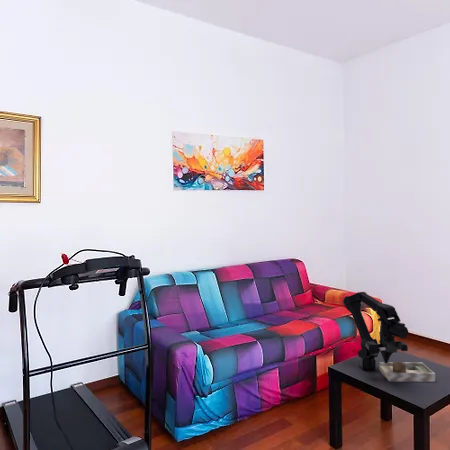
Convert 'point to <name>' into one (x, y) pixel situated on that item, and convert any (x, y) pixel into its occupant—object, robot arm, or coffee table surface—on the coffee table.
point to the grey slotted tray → (408, 372)
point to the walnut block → (399, 367)
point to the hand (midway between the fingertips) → (385, 363)
